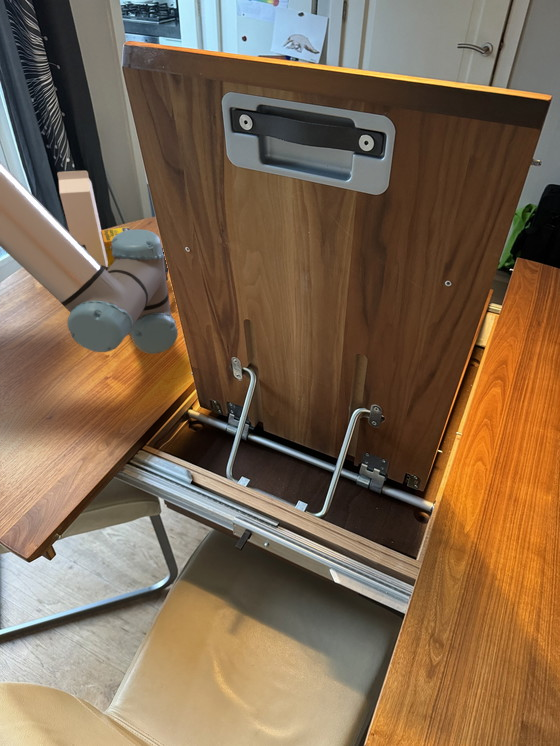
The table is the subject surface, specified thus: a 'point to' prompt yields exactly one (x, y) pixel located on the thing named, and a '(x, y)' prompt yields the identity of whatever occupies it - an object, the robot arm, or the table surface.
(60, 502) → the table surface
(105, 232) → the supplement box
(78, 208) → the milk
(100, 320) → the robot arm
